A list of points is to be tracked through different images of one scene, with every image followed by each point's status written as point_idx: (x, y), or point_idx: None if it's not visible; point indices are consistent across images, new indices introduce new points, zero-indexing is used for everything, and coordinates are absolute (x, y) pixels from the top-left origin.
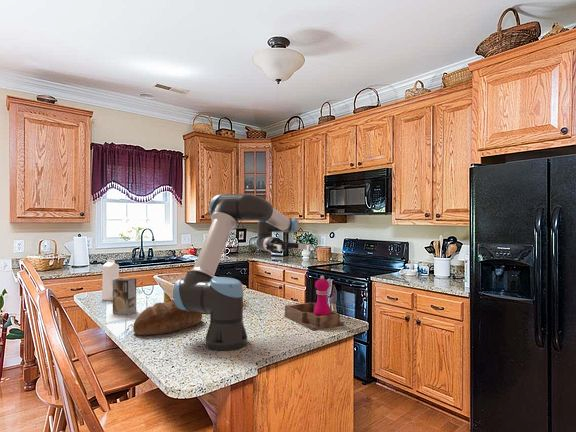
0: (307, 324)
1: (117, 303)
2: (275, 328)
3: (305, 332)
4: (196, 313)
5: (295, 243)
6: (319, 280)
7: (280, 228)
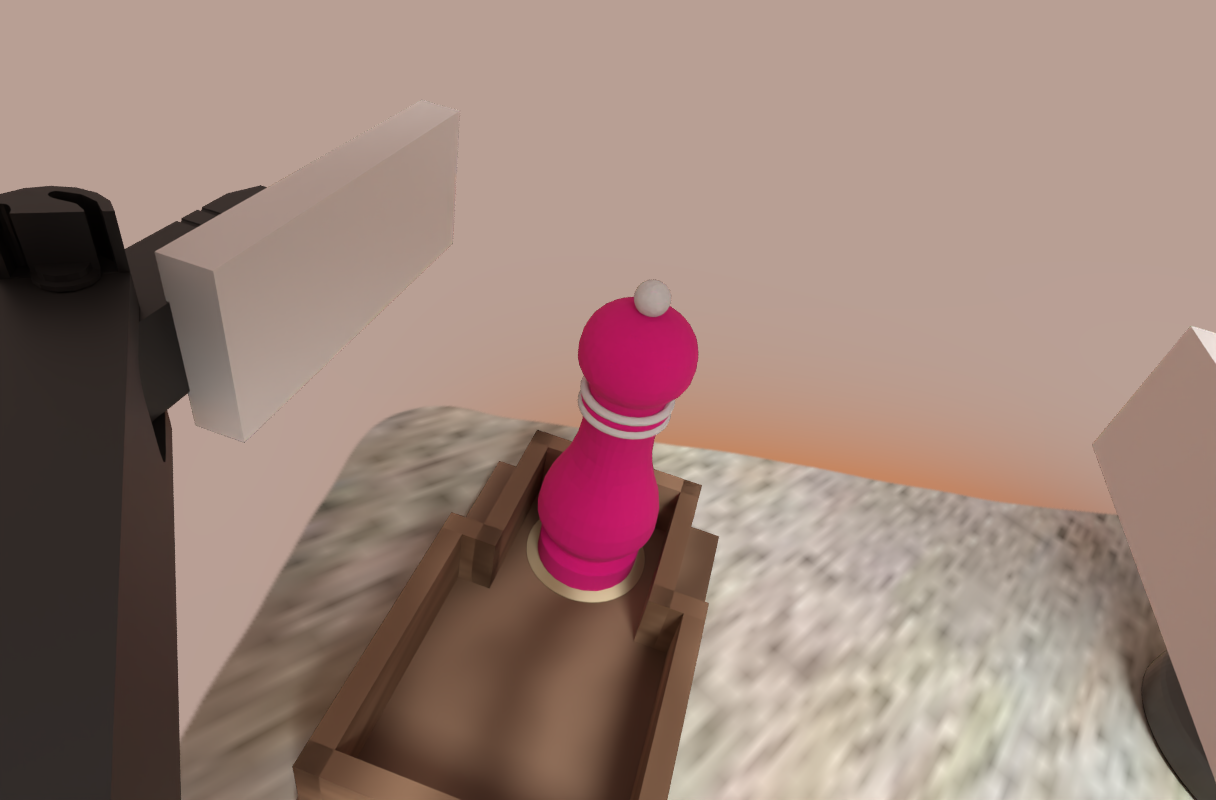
0: (693, 593)
1: None
2: (888, 742)
3: (769, 558)
4: None
5: (122, 396)
6: (683, 322)
7: None
